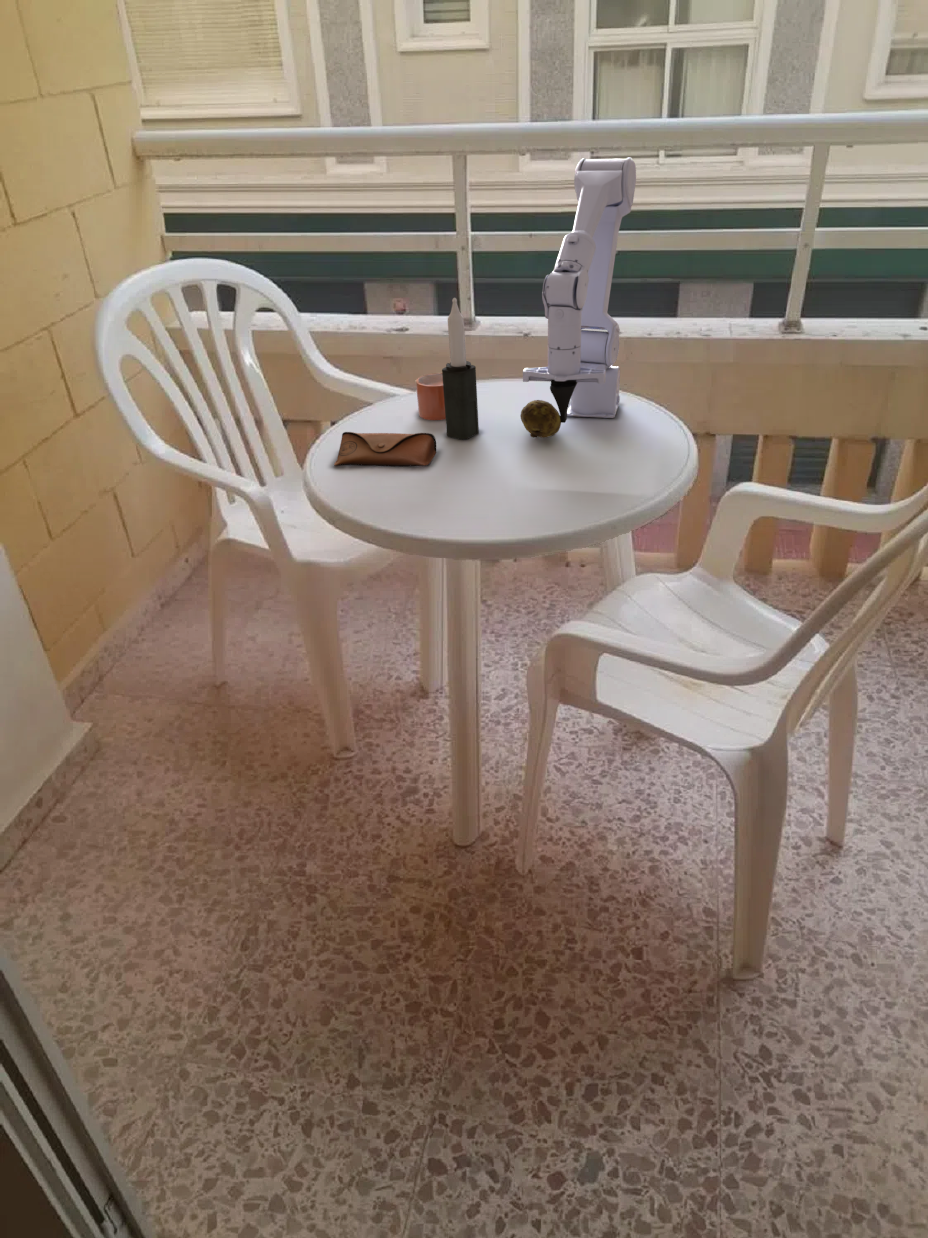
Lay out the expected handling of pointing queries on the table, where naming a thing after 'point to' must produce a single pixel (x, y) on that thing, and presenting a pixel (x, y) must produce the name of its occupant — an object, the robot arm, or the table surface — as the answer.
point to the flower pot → (431, 396)
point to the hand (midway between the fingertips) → (563, 420)
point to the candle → (459, 383)
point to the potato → (540, 419)
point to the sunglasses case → (386, 449)
